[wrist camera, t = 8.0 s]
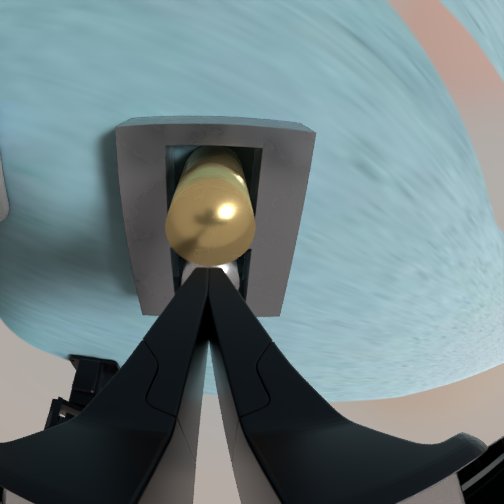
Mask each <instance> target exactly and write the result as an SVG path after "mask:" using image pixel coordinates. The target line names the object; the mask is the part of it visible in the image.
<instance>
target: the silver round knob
mask: <svg viewBox="0 0 504 504" xmlns="http://www.w3.org/2000/svg"><path fill="white" fill-rule="evenodd" d="M196 267H208V268H210V267H220V268H222V269H223V270H224V271H225V273H226V274H227V276H228V277H229V279H230V280H231V282H232V283H233V285H234V286H235V287H236V289H237V290H238V288H239V273H238V264H237V259H236V260H234V261H232V262H229V263H227V264H223V265H218V266H203V265H198V264H195V263H192V262H189V261H187V260H186V259H185V260H184V267H183V274H182V285H183V283H184V282H185V281H186V279H187V278H188V277H189V275H190V274H191V273H192V271H193V270H194V269H195V268H196Z"/></svg>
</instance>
